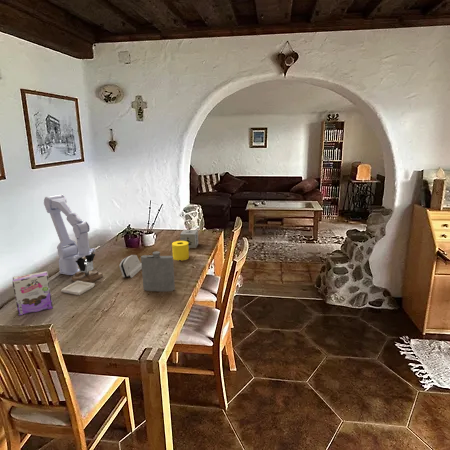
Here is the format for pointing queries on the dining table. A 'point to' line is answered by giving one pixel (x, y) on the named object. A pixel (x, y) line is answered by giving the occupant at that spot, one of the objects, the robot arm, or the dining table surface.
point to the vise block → (87, 276)
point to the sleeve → (87, 266)
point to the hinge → (130, 266)
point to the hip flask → (157, 272)
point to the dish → (78, 287)
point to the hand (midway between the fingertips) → (86, 268)
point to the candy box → (32, 293)
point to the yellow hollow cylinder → (180, 250)
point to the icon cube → (190, 237)
